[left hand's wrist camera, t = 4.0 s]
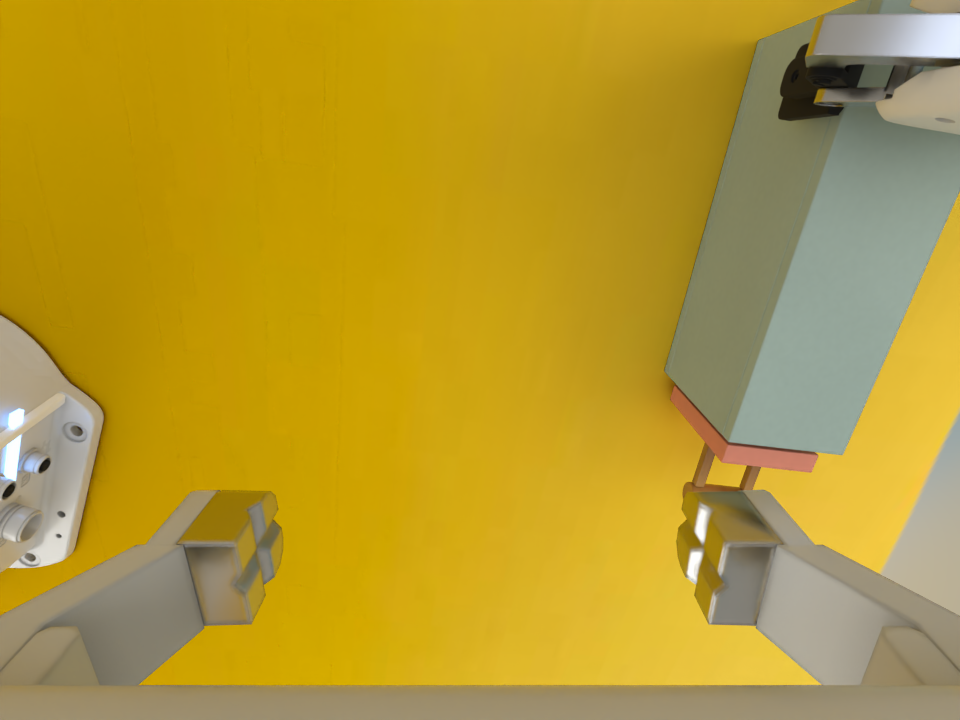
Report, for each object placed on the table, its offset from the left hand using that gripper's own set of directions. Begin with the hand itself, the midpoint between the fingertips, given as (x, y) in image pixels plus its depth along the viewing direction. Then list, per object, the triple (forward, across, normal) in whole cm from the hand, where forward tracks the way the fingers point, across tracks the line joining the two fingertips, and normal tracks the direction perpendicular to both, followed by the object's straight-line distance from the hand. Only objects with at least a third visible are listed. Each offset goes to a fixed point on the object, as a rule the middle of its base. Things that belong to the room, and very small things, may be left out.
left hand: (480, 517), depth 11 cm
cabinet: (+27, -18, -2) cm, 33 cm away
